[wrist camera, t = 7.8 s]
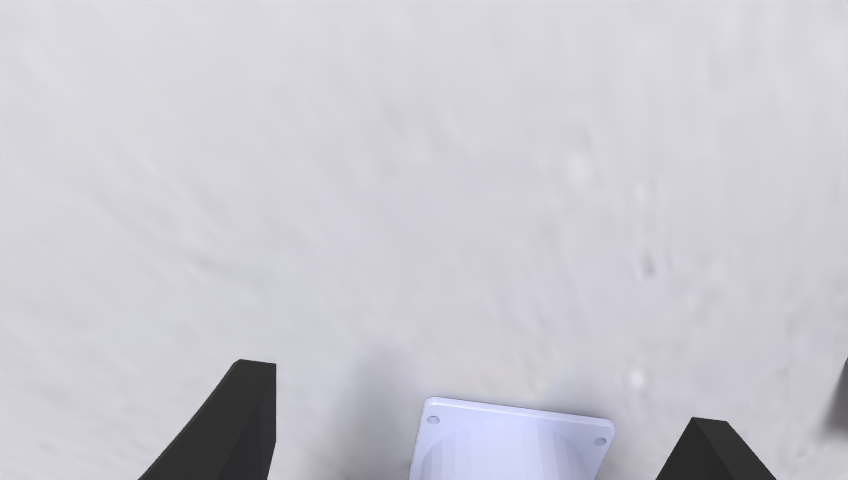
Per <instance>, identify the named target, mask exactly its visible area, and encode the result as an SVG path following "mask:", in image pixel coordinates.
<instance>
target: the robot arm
mask: <svg viewBox="0 0 848 480" xmlns="http://www.w3.org/2000/svg"><path fill="white" fill-rule="evenodd" d="M431 416H436V417H431ZM615 433H616V430H615V426H614V424H613V422H612V421H610V420H607V419H602V418H595V417H587V416H579V415H572V414H564V413H556V412H549V411H541V410H533V409H526V408H518V407H510V406H503V405H495V404H487V403H480V402H472V401H464V400H457V399H449V398H441V397H431V398H428V399H426V400H425V401H424V403H423V408H422V412H421V417H420V422H419V427H418V432H417V437H416V442H415V447H414V452H413V457H412V462H411V467H410V472H409V477H408V480H594V478H595V476H596V474H597V472H598V470H599V468H600V466H601V464H602V461H603V459H604V457H605V455H606V453H607V451H608V449H609V447H610V444H611V442H612V440H613V438H614V436H615ZM275 443H276V364H274V363H266V362H259V361H251V360H243V359H239V360H238V361H236V362H235V363H233V365H232V366H231V367H230V369H229V370H228V372H227V373H226V375H225V376H224V377H223V379H222V380H221V381H220V383H219V384H218V385H217V387H216V388H215V389H214V391H213V392H212V393H211V395H210V396H209V397H208V398H207V400H206V401H205V402H204V404H203V405H202V406H201V407H200V409H199V410H198V411H197V412H196V414H195V415H194V416H193V417H192V418H191V420H190V421H189V422H188V423H187V425H186V426H185V427H184V428H183V429H182V430H181V432H180V433H179V434H178V435H177V436H176V437H175V439H174V440H173V441H172V442H171V443H170V444H169V445H168V447H167V448H166V449H165V450H164V451H163V452H162V454H161V455H160V456H159V457H158V458H157V459H156V460H155V462H154V463H153V464H152V465H151V466H150V467H149V468H148V469H147V471H146V472H145V473H144V474H143V475H142V476H141V477H140V478H139V479H138V480H267V477H268V473H269V469H270V465H271V460H272V456H273V452H274V448H275ZM656 480H776V478H775V477H774V476H773V475H772V474H771V473H770V471H769V470H768V469H767V468H766V467H765V465H764V464H763V463H762V462H761V461H760V459H759V458H758V457H757V456H756V455H755V454H754V452H753V451H752V450H751V449H750V448H749V446H748V445H747V444H746V443H745V442H744V441H743V439H742V438H741V437H740V436H739V435H738V434H737V433H736V431H735V430H734V429H733V428H732V427H731V426H730V425H729V423H728V422H727V421H720V420H712V419H705V418H697V417H692V418H691V420H690V422H689V423H688V425H687V427H686V429H685V430H684V432H683V434H682V435H681V437H680V439H679V441H678V442H677V444H676V446H675V447H674V449H673V451H672V453H671V454H670V456H669V458H668V459H667V461H666V463H665V465H664V466H663V468H662V470H661V471H660V473H659V475H658V477H657V478H656Z"/></svg>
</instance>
